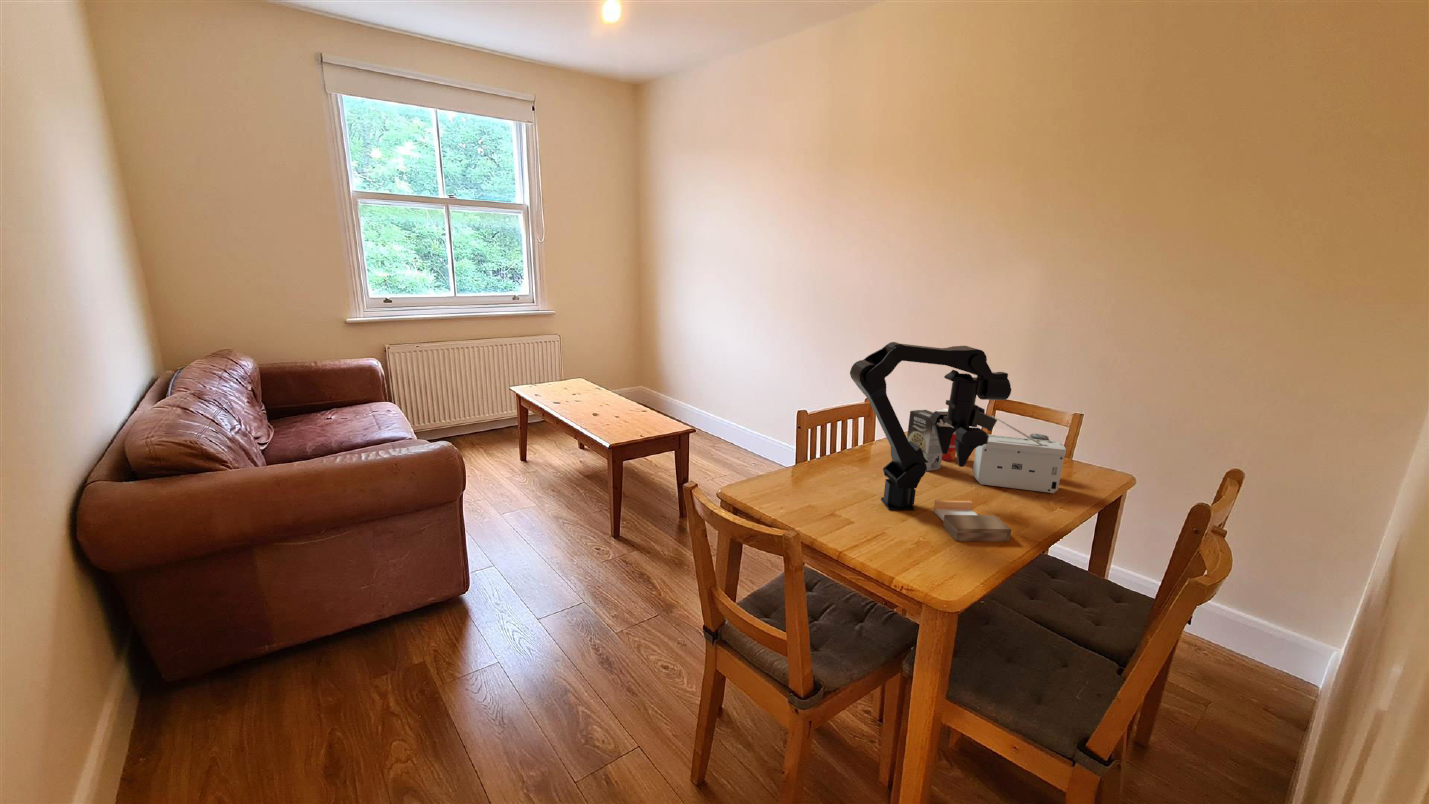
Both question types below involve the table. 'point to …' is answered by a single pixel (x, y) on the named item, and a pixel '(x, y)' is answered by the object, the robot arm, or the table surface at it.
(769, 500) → the table surface
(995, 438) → the stereo radio cassette player
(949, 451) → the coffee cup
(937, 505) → the plate
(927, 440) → the coffee box
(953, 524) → the taupe rectangular slab
